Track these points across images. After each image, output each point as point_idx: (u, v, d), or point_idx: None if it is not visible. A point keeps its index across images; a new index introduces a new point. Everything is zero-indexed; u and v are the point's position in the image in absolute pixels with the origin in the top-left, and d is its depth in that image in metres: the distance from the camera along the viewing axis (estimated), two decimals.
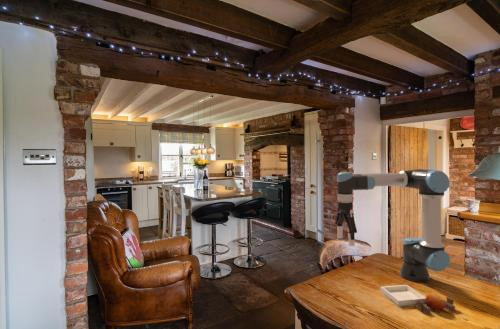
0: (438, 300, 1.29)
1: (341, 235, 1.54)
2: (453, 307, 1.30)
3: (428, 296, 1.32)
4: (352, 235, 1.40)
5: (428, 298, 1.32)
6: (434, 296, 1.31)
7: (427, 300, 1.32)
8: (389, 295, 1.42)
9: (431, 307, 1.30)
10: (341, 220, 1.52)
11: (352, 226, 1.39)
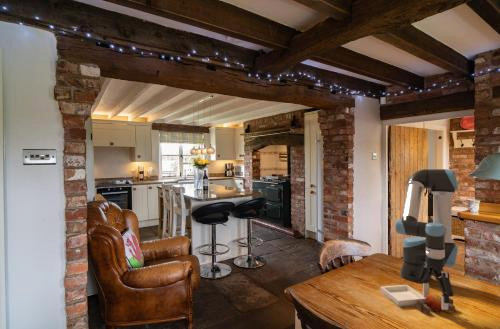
0: (438, 300, 1.29)
1: (427, 293, 1.38)
2: (453, 307, 1.30)
3: (428, 296, 1.32)
4: (447, 298, 1.25)
5: (428, 298, 1.32)
6: (434, 296, 1.31)
7: (427, 300, 1.32)
8: (389, 295, 1.42)
9: (431, 307, 1.30)
10: (428, 276, 1.36)
11: (448, 289, 1.24)
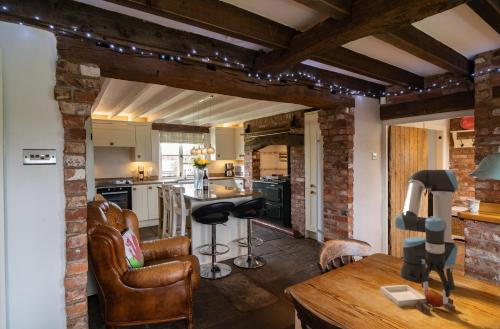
0: (439, 296, 1.29)
1: None
2: (453, 307, 1.30)
3: (428, 293, 1.32)
4: (448, 292, 1.27)
5: (429, 295, 1.31)
6: (434, 292, 1.31)
7: (428, 297, 1.31)
8: (389, 295, 1.42)
9: (433, 304, 1.29)
10: (428, 273, 1.34)
11: (451, 283, 1.25)
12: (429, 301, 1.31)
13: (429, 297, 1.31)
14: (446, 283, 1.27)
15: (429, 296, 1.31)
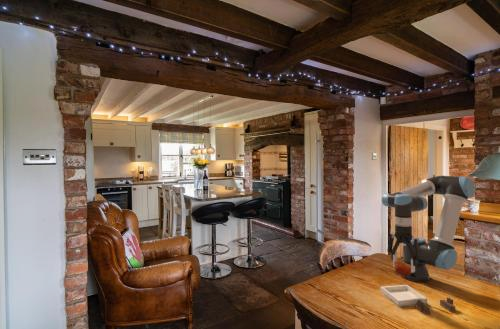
0: (407, 266, 1.39)
1: None
2: (453, 307, 1.30)
3: (398, 264, 1.41)
4: (415, 261, 1.37)
5: (398, 266, 1.41)
6: (403, 263, 1.41)
7: (398, 268, 1.41)
8: (389, 295, 1.42)
9: (402, 273, 1.39)
10: (397, 246, 1.44)
11: (418, 252, 1.36)
12: (399, 271, 1.40)
13: (399, 267, 1.40)
14: (413, 253, 1.38)
15: (399, 267, 1.40)
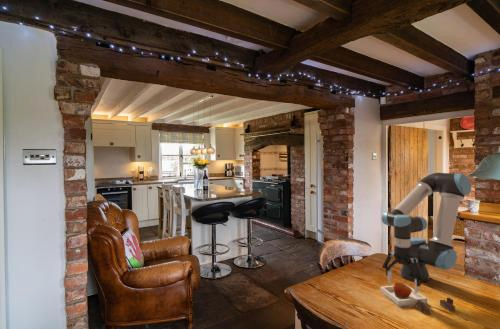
0: (406, 288, 1.40)
1: (391, 279, 1.48)
2: (453, 307, 1.30)
3: (397, 285, 1.42)
4: (419, 281, 1.36)
5: (397, 287, 1.41)
6: (402, 284, 1.42)
7: (397, 289, 1.41)
8: (389, 295, 1.42)
9: (401, 295, 1.40)
10: (394, 264, 1.46)
11: (421, 273, 1.35)
12: (397, 293, 1.41)
13: (397, 289, 1.41)
14: (416, 273, 1.37)
15: (397, 288, 1.41)
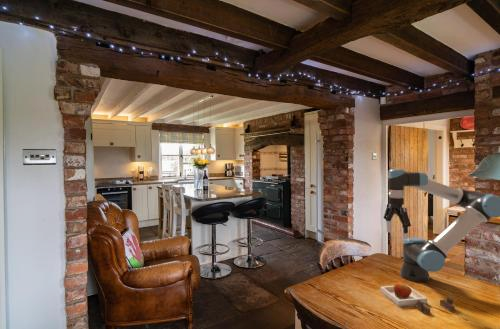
0: (406, 288, 1.40)
1: (390, 229, 1.61)
2: (453, 307, 1.30)
3: (397, 285, 1.42)
4: (406, 229, 1.46)
5: (397, 287, 1.41)
6: (402, 284, 1.42)
7: (397, 289, 1.41)
8: (389, 295, 1.42)
9: (401, 295, 1.40)
10: (391, 215, 1.59)
11: (406, 220, 1.46)
12: (397, 293, 1.41)
13: (397, 289, 1.41)
14: None
15: (397, 288, 1.41)
